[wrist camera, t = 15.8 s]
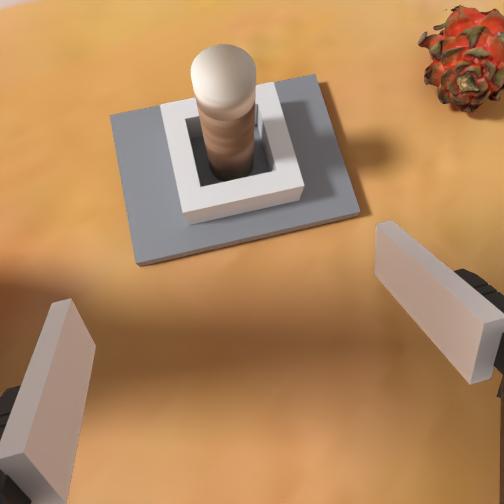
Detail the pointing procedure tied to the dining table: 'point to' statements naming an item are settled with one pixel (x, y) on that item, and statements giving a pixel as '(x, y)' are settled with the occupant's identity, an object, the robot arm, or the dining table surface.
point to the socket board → (164, 194)
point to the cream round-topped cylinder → (226, 108)
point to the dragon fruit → (467, 58)
